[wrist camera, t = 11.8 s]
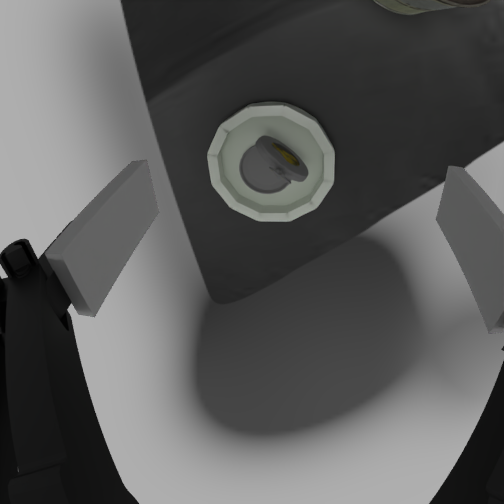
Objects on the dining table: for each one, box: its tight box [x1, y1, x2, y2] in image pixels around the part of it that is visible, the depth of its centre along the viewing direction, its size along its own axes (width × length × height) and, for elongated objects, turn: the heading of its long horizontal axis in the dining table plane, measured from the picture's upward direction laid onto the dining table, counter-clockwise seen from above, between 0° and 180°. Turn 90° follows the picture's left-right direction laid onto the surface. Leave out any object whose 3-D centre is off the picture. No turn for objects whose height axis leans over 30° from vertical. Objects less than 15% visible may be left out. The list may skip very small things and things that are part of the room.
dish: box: [207, 101, 335, 221], centre depth 37 cm, size 15×15×3 cm
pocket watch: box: [239, 135, 309, 194], centre depth 34 cm, size 8×8×10 cm
